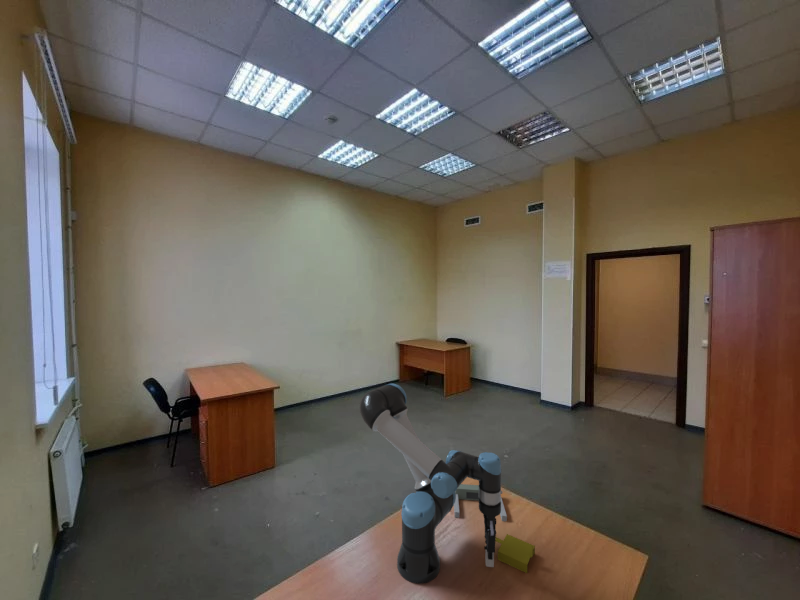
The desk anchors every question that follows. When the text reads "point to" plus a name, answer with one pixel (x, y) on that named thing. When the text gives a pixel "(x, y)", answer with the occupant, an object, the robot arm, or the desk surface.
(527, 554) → the bracket
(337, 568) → the desk surface
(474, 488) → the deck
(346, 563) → the desk surface
